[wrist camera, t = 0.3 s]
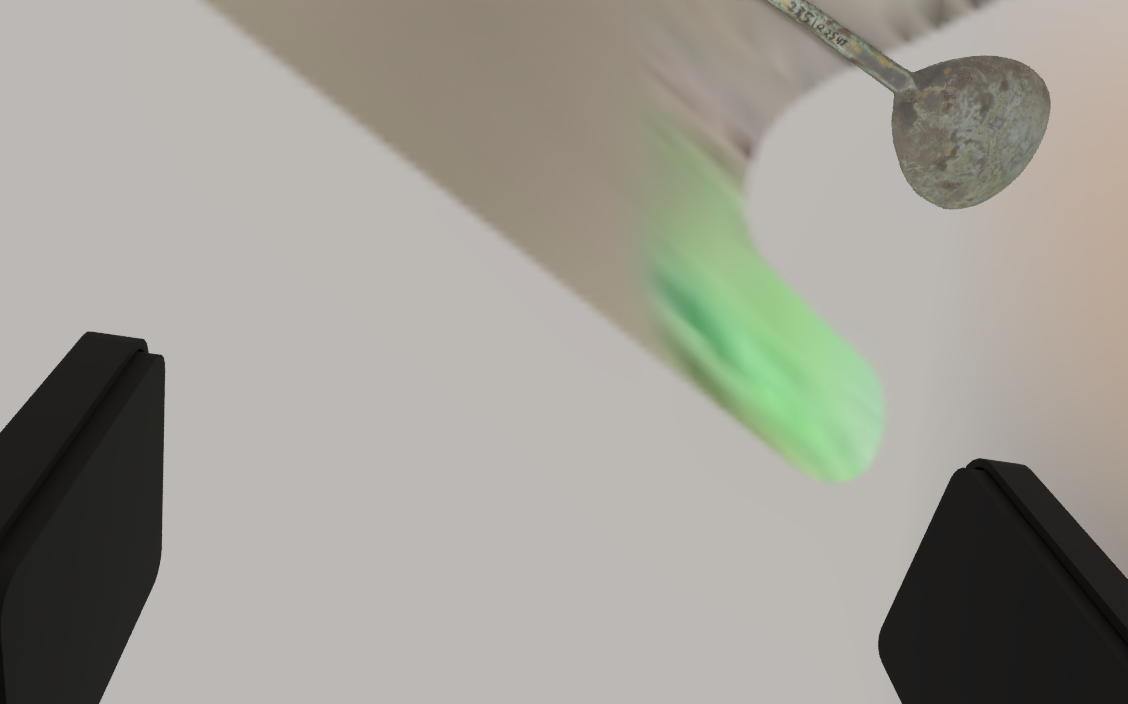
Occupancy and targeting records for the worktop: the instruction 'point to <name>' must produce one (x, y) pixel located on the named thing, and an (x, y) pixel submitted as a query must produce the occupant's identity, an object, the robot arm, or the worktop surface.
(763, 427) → the worktop surface
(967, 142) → the soupspoon
